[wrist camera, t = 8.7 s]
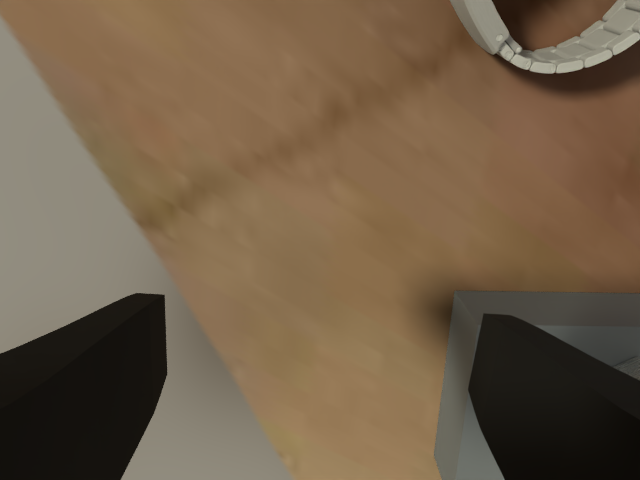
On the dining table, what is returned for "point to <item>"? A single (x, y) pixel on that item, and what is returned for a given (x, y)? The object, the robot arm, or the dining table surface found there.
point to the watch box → (545, 313)
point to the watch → (585, 51)
